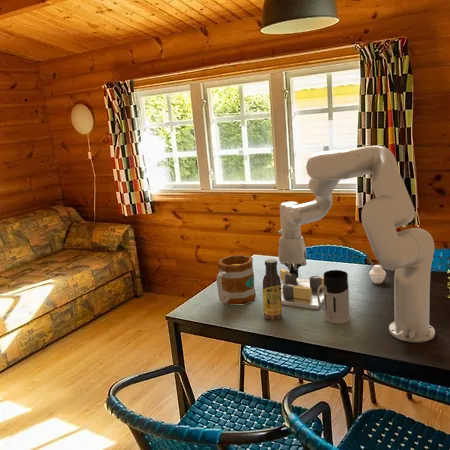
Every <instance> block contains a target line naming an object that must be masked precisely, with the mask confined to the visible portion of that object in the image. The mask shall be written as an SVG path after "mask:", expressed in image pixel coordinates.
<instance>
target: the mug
mask: <svg viewBox="0 0 450 450" xmlns="http://www.w3.org/2000/svg"><path fill="white" fill-rule="evenodd" d="M253 260H254V257H252V256H249V255H245V254H238V255H236V254H231V255H228V256H224V257H222V258H219V259H218V262H217V267H218V271H219V272H218V274H217V275H216V286H217V293H218V300H219V302H220V303H222V304H226V303H228V304H245V305H247V304H249V303H248V302H250V303H252V302H254V300H255V301H256V297H255V296H256V289H255V273H254V266H253V265H254V264H253V262H254V261H253ZM251 301H252V302H251ZM246 303H247V304H246ZM228 304H227V305H228Z"/></svg>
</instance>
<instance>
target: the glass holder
mask: <svg viewBox="0 0 450 450" xmlns="http://www.w3.org/2000/svg"><path fill="white" fill-rule="evenodd" d="M348 275H349V274H348V272H347V271H344V270H341V269H340V270H339V269H332V270H328V271H327V270H326V271H325V272H323V277H324V285H320V286H319V288H318V290H317V299H318V303H319V306H320V308H319V309H322V310H323V312H324V314H323V320H324V321H326V322H328V323H332V324H344V323H347V322H349V321H350V320H351V319H352V316H351V314H350V299H349V298H350V296H349V295H350V293H349V292H350V290H349V289H350V288H349V281H348ZM322 286H324V303H323V304H324V305H323V304H322V305H321V303H320V298H319V292H320V289H321V287H322Z"/></svg>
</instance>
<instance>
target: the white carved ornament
mask: <svg viewBox="0 0 450 450" xmlns="http://www.w3.org/2000/svg"><path fill="white" fill-rule="evenodd" d="M368 275H369V277H370V279H371V281H372V282H373V284H376V285H377V284H382V283H383V281H384V280H385V278H386V275H387V272H386V271H385V270H384V268H383V266H381V265H380V264H374V265H373V266H372V269H371V270H370V271H369V272H368Z"/></svg>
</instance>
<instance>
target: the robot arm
mask: <svg viewBox="0 0 450 450" xmlns="http://www.w3.org/2000/svg"><path fill="white" fill-rule="evenodd" d="M305 168H306V174H307V175H308V177H309V178H310V179H309V181H308V188H309V190H310V191H311V193H312V194H313V195H314V196H316V197H315V198H314V199H313V200H311V201H308V202H303V203H299V202H297V201H295V200H294V201H290V200H289V201H284V202H281V203H280V204H279V215H280V216H279V218H280V230H278V231H277V232H278V234H279V235H280V237H279V238H278V239H279V241H278V261H279V263H280V264H281V265H284V266H285V267H286V268H287V269H288V270H289V271H288V270H287V271H288V272H289V273H293V274H296V279H297V278H299V268H300V267H305V266H306V265H307V264H308V263H307V249H306V248H307V247H306V243H305V239H304V237H303V235H302V227H301V226H303V225H307V224H310V223H315V222H317V221H321V220H322V219H323V218H324V217H325V216H326V215H327V214H328V213H329V210H331V207H332V206H333V200H334V198H333V191H334V190H335V188H336V187H337V185H338V184H339V182H340V181H341V180H347V179H348V180H349V179H354V178H359V177H362V176H363V177H364V176H366V175H371V178H370V179H371V181H370V183H371V185H370V186H371V189H372V192H373V194H374V196H375V198H372V199H369V200H368V201H366V202H365V204H364V205H363V207H362V209H361V215H360V216H361V223H362V227H363V229H364V232H365V234H366V237H367V239H368V243H369V244H370V247H371V250H372V252H373V254H374V257H375V259H376V261H377V262H378V264H379V265H380V266H382V268H383V269H386V270H390V271H394V281H393V282H394V283H393V285H394V286H393V288H394V290H393V293H394V297H393V299H394V300H393V301H394V304H393V305H394V306H393V307H394V309H393V310H394V311H393V313H394V315H393V316H394V319H393V320H394V321H393V322H391V323H390V324H389V325H388V331H389V334H390V335H391V336H392V337H394V338H395V339H397V340H399V341H403V342H408V343H425V342H429V341H431V340H432V339H434V338H435V336H436V330H435V328H434V326H432V325H431V324H430V303H431V302H430V300H431V299H430V297H431V296H430V293H431V291H430V290H431V273H432V271H431V269H432V264H433V263H432V262H433V258H434V255H435V242H434V239H433V236H432V235H431V233H429V232H428V231H427V230H425V229H423V228H420V227H411V228H408V229H404V230H401V231H397V229H396V228H399V227H402V226H403V227H404V226H405V225H407V224H409V223H411V222H412V221H413V220H414V218H415V215H416V212H415V207H414V204H413V202H412V199H411V197H410V195H409V192H408V189H407V187H406V185H405V183H404V180H403V178H402V175H401V173H400V169H399V167H398V163H397V159H396V158H395V155H394V153H393V152H392V151H391V150H390V149H389V148H387V147H385V146H382V145H367V146H359V147H355V148H350V149H344V150H339V149H333V150H327V151H325V150H324V151H321V152H320V151H319V152H316V153H313V154H312V155H311V156H310V157H309V158H308V159H307V162H306V166H305Z"/></svg>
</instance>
